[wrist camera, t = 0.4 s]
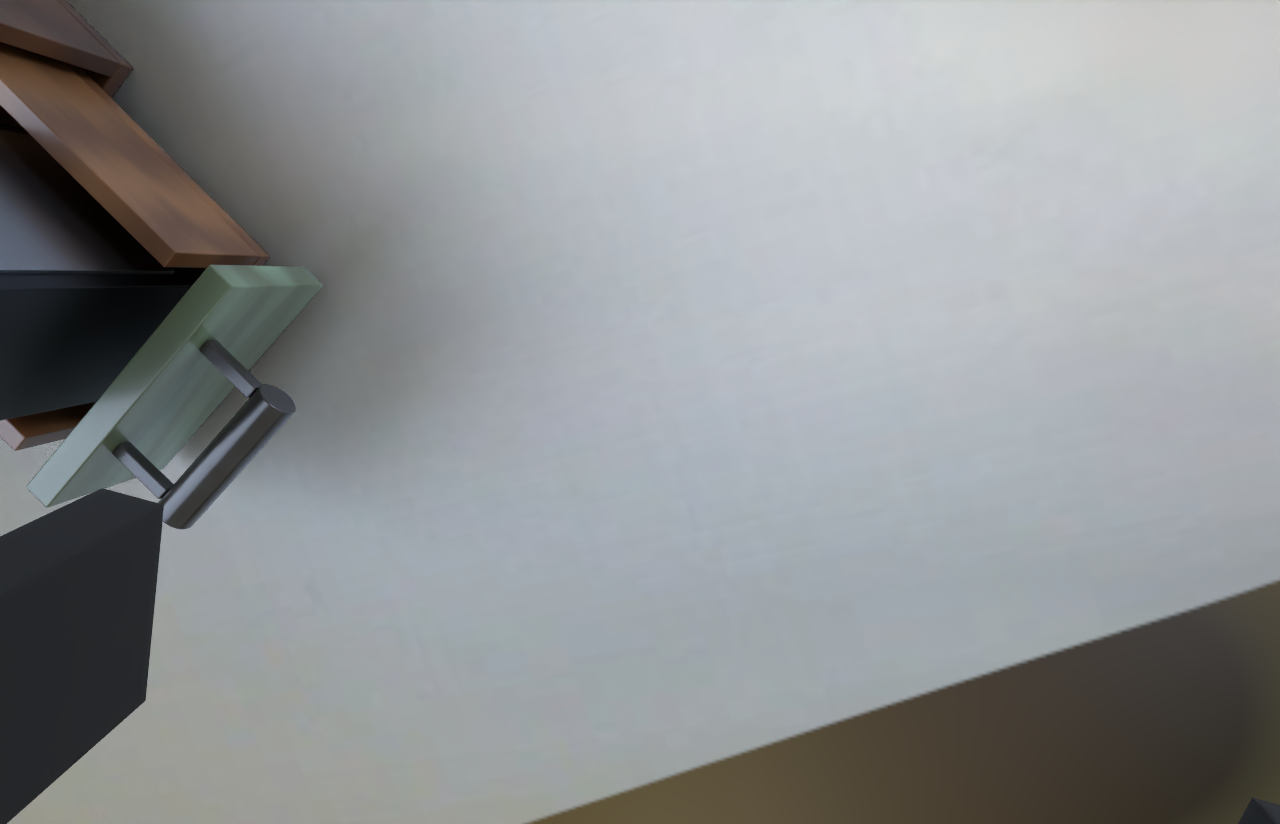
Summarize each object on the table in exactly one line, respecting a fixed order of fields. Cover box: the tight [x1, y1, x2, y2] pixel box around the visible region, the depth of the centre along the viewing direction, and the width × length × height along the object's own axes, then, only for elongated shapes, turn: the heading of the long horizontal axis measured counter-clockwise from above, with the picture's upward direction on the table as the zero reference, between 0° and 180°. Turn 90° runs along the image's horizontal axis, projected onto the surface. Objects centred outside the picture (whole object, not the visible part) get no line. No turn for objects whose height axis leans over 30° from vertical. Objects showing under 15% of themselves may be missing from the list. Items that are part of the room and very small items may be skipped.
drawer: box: [0, 42, 323, 529], centre depth 34 cm, size 20×12×7 cm, turn 45°
